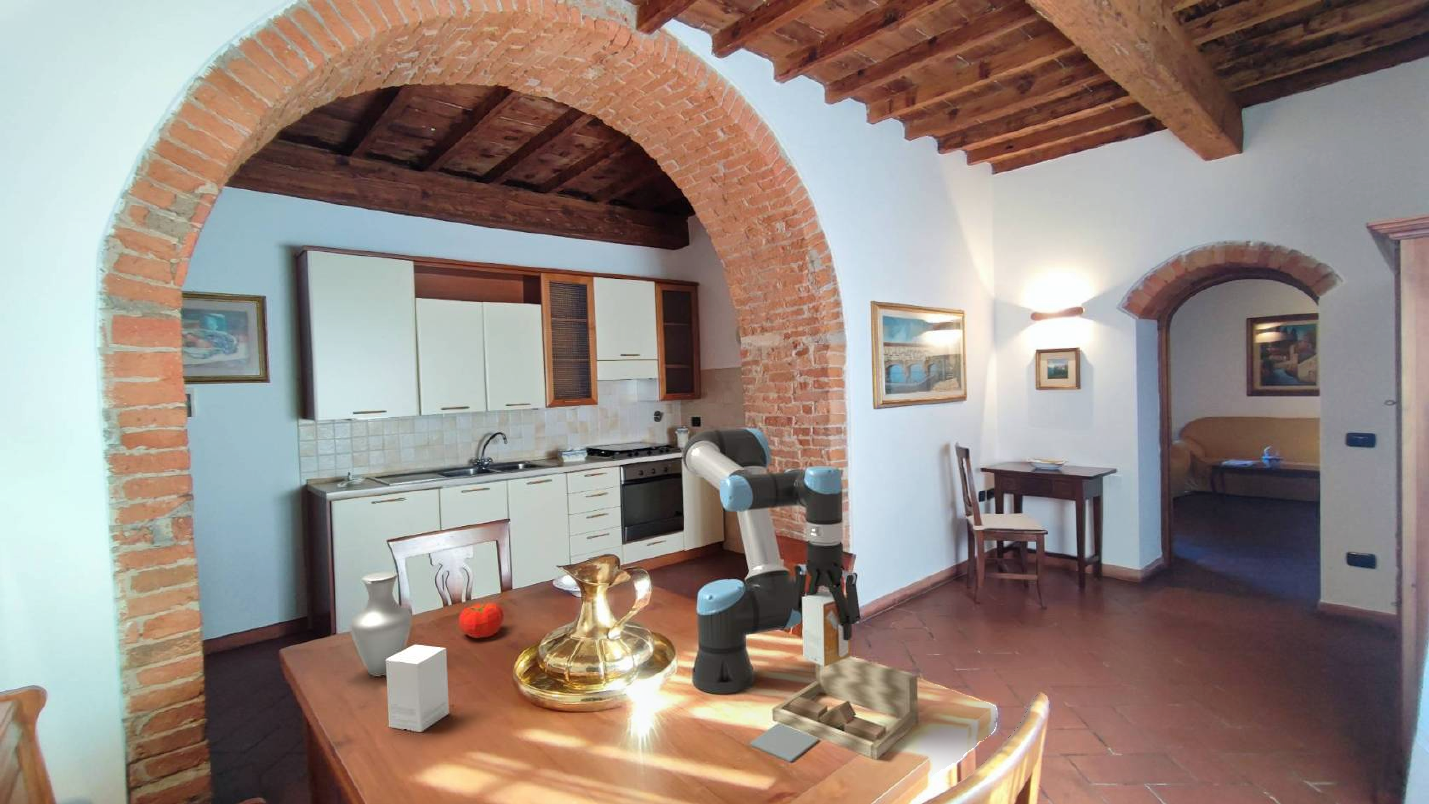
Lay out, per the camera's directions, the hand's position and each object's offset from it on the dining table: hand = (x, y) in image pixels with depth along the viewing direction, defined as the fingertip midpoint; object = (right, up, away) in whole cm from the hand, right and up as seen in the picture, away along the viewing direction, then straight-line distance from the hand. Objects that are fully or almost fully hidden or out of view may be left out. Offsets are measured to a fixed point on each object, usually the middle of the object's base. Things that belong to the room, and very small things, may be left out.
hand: (826, 649), depth 140 cm
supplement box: (-88, -18, +7) cm, 90 cm away
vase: (-109, -18, +33) cm, 116 cm away
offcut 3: (+7, -16, -7) cm, 19 cm away
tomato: (-92, -17, +57) cm, 110 cm away
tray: (+4, -16, +2) cm, 16 cm away
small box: (0, -2, 0) cm, 2 cm away
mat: (-10, -16, -6) cm, 20 cm away
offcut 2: (+3, -14, -3) cm, 15 cm away
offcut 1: (-3, -16, +3) cm, 17 cm away
